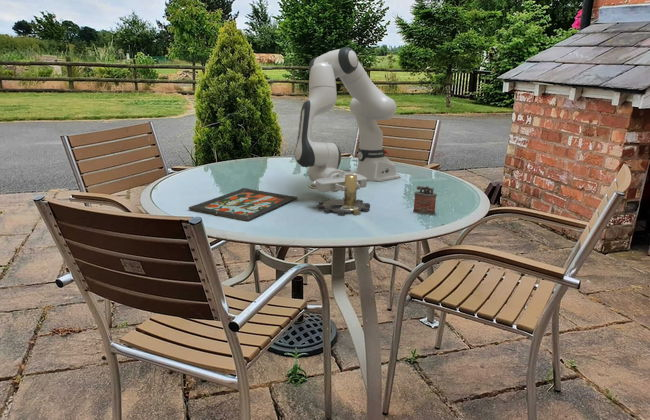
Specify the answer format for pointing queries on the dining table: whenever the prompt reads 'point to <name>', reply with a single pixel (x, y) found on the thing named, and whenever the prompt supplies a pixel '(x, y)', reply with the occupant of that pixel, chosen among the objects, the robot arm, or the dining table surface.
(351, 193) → the pin
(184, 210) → the dining table surface
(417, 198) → the lighter
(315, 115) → the robot arm
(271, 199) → the painting
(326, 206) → the sprocket plate
